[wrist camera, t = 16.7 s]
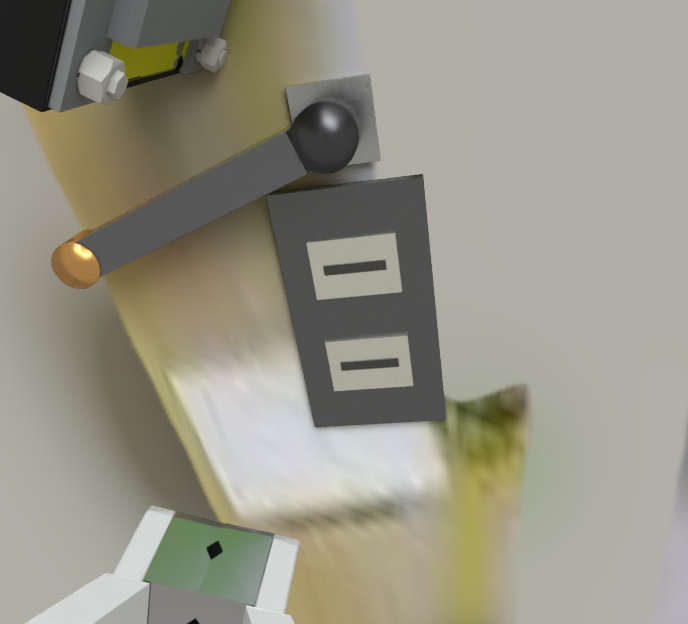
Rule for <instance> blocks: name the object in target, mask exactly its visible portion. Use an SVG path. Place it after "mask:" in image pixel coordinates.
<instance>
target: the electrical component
mask: <svg viewBox="0 0 688 624" xmlns="http://www.w3.org/2000/svg"><path fill="white" fill-rule="evenodd" d="M230 3H231V0H0V92H1V93H3V94H5V95H7V96H9V97H11V98H13V99H15V100H17V101H20V102H22V103H24V104H26V105H28V106H30V107H32V108H34V109H36V110H38V111H40V112H44V111H47V110H51V109H53V110H55V111H57V112H63V111H66V110H70V109H73V108H76V107H80V106H83V105H86V104H90V103H93V102H97V103H100V104H110V103H111V102H112V101H113V100H114V99H115V100H117V101H118V100H119V99H120V98H121V96H122V95H123V94H124V92H125V91H126V88H128V87H132V86H135V85H139V84H142V83H146V82H149V81H153V80H156V79H160V78H163V77H167V76H170V75H174V74H177V73H181V72H182V73H184V74H190V73H193V72H196V71H200V70H202V68H203V67H204V68H206V69H208V70H210V71H212V72H214V73H215V72H217V71H218V70H219V69H220V67H221V66H223V64H224V62H225V60H226V56H227V53H228V51H227V47H228V45H227V43H226V41H225V40H223V39H221V38H219V37H217V36H220V33H221V30H222V27H223V24H224V21H225V18H226V15H227V12H228V9H229V6H230Z"/></svg>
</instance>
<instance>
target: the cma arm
mask: <svg viewBox="0 0 688 624" xmlns="http://www.w3.org/2000/svg"><path fill="white" fill-rule="evenodd" d="M360 139H361V124H360V120H359V117H358V115H357V114H356V112H355V111H354V109H353V108H352V107H351V106H350V105H349V104H347V103H346V102H344V101H342V100H340V99H337V98H332V97H325V98H320V99H317V100H315V101H313V102H312V103H310V104H309V105H308V106H307V107H306V108H305V109H304V110H302V111H301V112H300V113H299V114H298V116H297V117H296V118H295V120H294V122H293V124H292V125H291V126H289V127H287V128H285V129H283V130H281V131H280V132H278V133H276V134H274V135H272V136H270V137H268V138H266V139H264V140H262V141H261V142H259V143H257V144H255V145H253V146H251V147H249V148H247V149H245V150H244V151H242V152H240V153H238V154H236V155H234V156H232V157H230V158H228V159H226V160H225V161H223V162H221V163H219V164H217V165H215V166H213V167H211V168H209V169H207V170H206V171H204V172H202V173H200V174H198V175H196V176H194V177H192V178H190V179H189V180H187V181H185V182H183V183H181V184H179V185H177V186H175V187H173V188H171V189H170V190H168V191H166V192H164V193H162V194H160V195H158V196H156V197H154V198H153V199H151V200H149V201H147V202H145V203H143V204H141V205H139V206H137V207H135V208H134V209H132V210H130V211H128V212H126V213H124V214H122V215H120V216H118V217H116V218H115V219H113V220H111V221H109V222H107V223H105V224H103V225H101V226H99V227H98V228H96V229H94V230H93V229H88V230H84V231H81V232H80V233H78V234H77V235H75V236H74V237H72V238H71V239H69V240H68V241H66V242H65V243H63V244H62V245H61V246H59V247H58V248H56V250H55V251H54V252H53V255H52V259H51V263H52V268H53V270H54V272H55V274H56V275H57V277H58V278H59V279H60V280H61V281H62V282H63V283H65V284H66V285H68V286H70V287H73V288H77V289H84V288H88V287H90V286H92V285H93V284H94V283H96V282H97V281H98V280H99V279H100V278H101V277H103V276H104V275H105V274H107V273H109V272H111V271H113V270H115V269H117V268H119V267H121V266H123V265H125V264H127V263H129V262H131V261H133V260H135V259H137V258H139V257H141V256H143V255H145V254H147V253H149V252H151V251H153V250H155V249H157V248H159V247H161V246H163V245H165V244H167V243H169V242H171V241H173V240H175V239H177V238H179V237H181V236H183V235H185V234H187V233H189V232H191V231H193V230H196V229H198V228H200V227H202V226H204V225H206V224H208V223H210V222H212V221H214V220H216V219H218V218H220V217H222V216H224V215H226V214H228V213H230V212H232V211H234V210H236V209H238V208H240V207H242V206H244V205H246V204H248V203H250V202H252V201H254V200H256V199H258V198H260V197H262V196H264V195H266V194H268V193H270V192H272V191H274V190H276V189H278V188H280V187H282V186H284V185H286V184H288V183H290V182H292V181H294V180H296V179H298V178H300V177H302V176H304V175H306V174H308V173H309V171H310V170H311V171H313V172H316V173H322V174H328V173H333V172H336V171H339V170H341V169H342V168H344V167H345V166H346V165H347V164H348V163H349V162H350V161H351V160H352V158H353V156H354V154H355V152H356V150H357V147H358V145H359V142H360Z"/></svg>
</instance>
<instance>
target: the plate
mask: <svg viewBox="0 0 688 624" xmlns="http://www.w3.org/2000/svg"><path fill="white" fill-rule="evenodd" d="M266 199H267V203H268V208H269V213H270V217H271V222H272V227H273V232H274V236H275V241H276V246H277V250H278V255H279V260H280V265H281V269H282V274H283V279H284V284H285V288H286V293H287V298H288V302H289V307H290V312H291V317H292V321H293V326H294V331H295V335H296V340H297V345H298V350H299V354H300V359H301V364H302V368H303V373H304V378H305V383H306V387H307V392H308V397H309V402H310V406H311V411H312V416H313V420H314V425H315V427H327V426H344V425H362V424H379V423H396V422H414V421H431V420H446V413H445V402H444V392H443V381H442V370H441V360H440V350H439V340H438V329H437V318H436V307H435V297H434V286H433V275H432V265H431V254H430V244H429V233H428V224H427V213H426V202H425V191H424V180H423V174H419V175H411V176H403V177H395V178H387V179H379V180H371V181H362V182H354V183H346V184H338V185H330V186H322V187H314V188H306V189H298V190H290V191H281V192H273V193H268V194H267V195H266Z"/></svg>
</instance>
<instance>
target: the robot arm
mask: <svg viewBox="0 0 688 624" xmlns="http://www.w3.org/2000/svg"><path fill="white" fill-rule="evenodd" d="M299 545H300V540H298V539H294V538H289V537H285V536H280V535H276V534H275V536H274V534H273V533H269V532H264V531H259V530H255V529H250V528H246V527H241V526H236V525H232V524H227V523H226V524H224V523H220V522H216V521H211V520H208V519H204V518H200V517H196V516H193V515H189V514H185V513H181V512H176V511H172V510H168V509H164V508H160V507H156V506H151V507H150V508H149V509H148V510H147V511H146V513H145V514H144V516H143V518H142V520H141V522H140V524H139V526H138V528H137V529H136V531H135V533H134V535H133V537H132V539H131V541H130V543H129V544H128V546H127V548H126V550H125V552H124V554H123V556H122V557H121V559H120V561H119V563H118V565H117V567H116V569H115V570H114V572H113V574H109V573H103V574H102V575H100V576H99V577H97V578H96V579H94V580H92V581H91V582H89V583H88V584H86V585H84V586H83V587H81V588H80V589H78V590H77V591H75V592H74V593H72V594H70V595H69V596H67V597H65V598H64V599H62V600H61V601H59V602H58V603H56V604H55V605H53V606H51V607H50V608H48V609H46V610H45V611H44V612H42V613H40V614H39V615H37V616H35V617H34V618H32V619H31V620H29V621H28V622H26V623H24V624H295V622H294V620H293V617H292V616H290V615H287V614H285V609H286V605H287V600H288V596H289V591H290V586H291V582H292V577H293V572H294V568H295V563H296V559H297V554H298V549H299Z"/></svg>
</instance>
